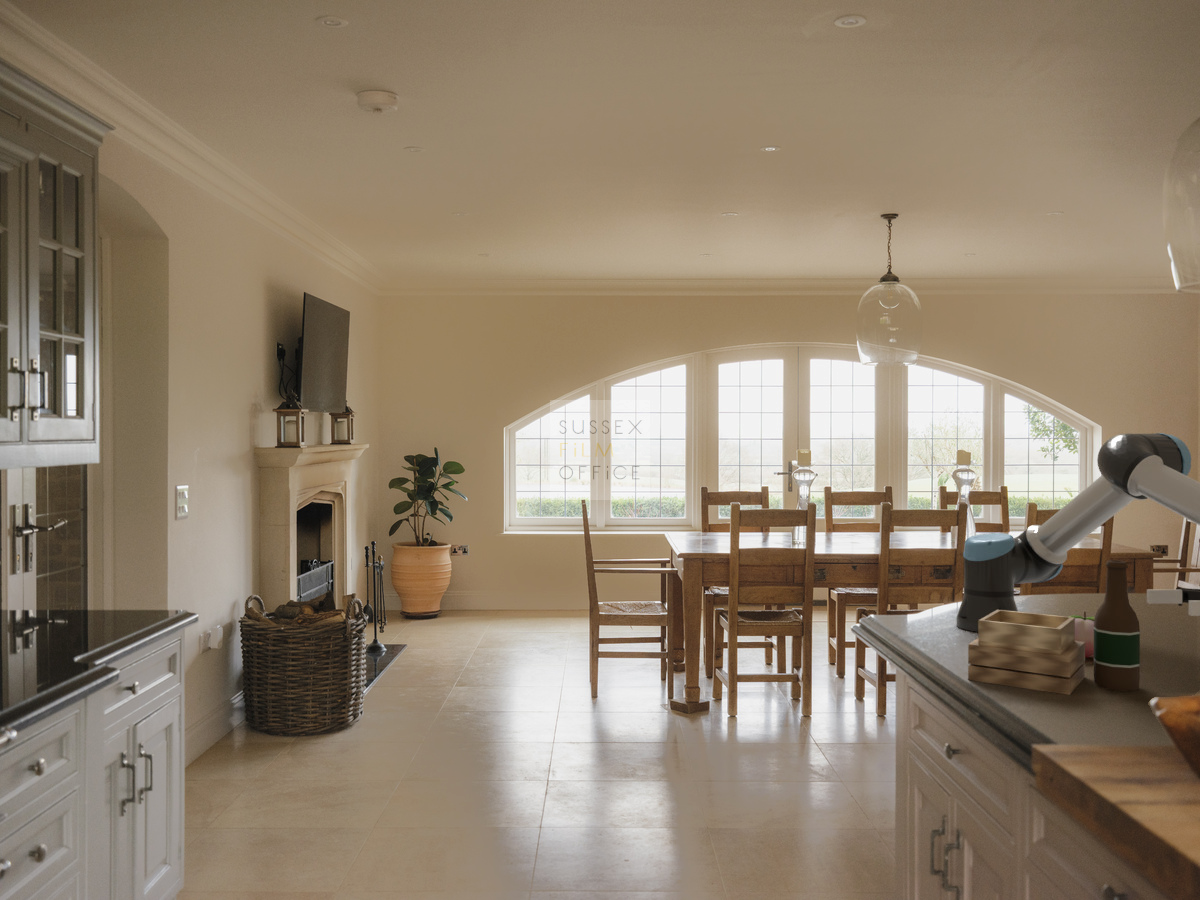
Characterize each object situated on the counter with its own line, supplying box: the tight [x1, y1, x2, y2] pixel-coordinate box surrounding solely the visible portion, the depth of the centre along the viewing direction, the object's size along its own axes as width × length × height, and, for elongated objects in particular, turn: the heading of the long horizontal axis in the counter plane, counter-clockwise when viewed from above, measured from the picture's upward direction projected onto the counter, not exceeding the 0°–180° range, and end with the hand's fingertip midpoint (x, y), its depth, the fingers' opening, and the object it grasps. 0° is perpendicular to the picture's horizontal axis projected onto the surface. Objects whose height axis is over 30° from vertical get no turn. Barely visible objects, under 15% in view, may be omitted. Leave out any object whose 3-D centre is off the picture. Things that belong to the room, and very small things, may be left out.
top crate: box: [977, 610, 1075, 655], centre depth 180 cm, size 15×15×5 cm
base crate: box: [967, 637, 1086, 696], centre depth 180 cm, size 18×16×7 cm
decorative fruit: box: [1067, 611, 1095, 659], centre depth 198 cm, size 9×8×10 cm
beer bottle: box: [1093, 559, 1141, 692], centre depth 175 cm, size 8×8×24 cm
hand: (1167, 602), depth 175 cm, fingers open, 13 cm apart
